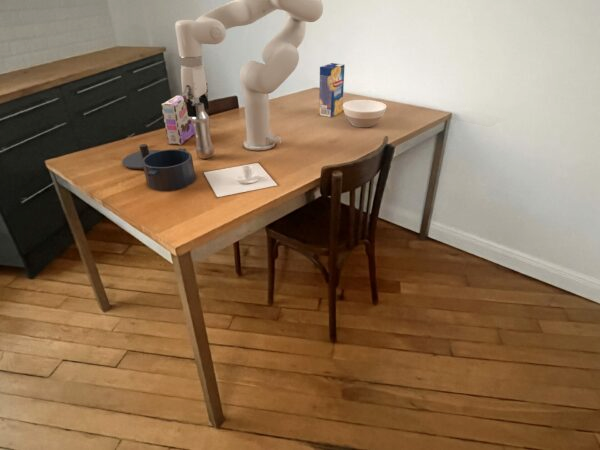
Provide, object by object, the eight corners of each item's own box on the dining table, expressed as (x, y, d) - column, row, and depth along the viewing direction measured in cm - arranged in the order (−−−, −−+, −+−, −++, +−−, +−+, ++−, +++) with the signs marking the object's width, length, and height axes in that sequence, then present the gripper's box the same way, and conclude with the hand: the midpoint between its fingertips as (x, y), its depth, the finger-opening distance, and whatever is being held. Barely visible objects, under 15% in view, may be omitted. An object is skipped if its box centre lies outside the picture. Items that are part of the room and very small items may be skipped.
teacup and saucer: (237, 186, 132) (236, 175, 130) (231, 177, 138) (229, 166, 136) (263, 181, 135) (262, 170, 132) (255, 172, 141) (254, 161, 139)
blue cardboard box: (342, 111, 200) (344, 64, 189) (331, 117, 193) (332, 68, 181) (330, 109, 204) (331, 63, 192) (319, 114, 196) (319, 67, 184)
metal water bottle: (217, 154, 155) (211, 102, 144) (208, 161, 149) (201, 107, 139) (203, 152, 157) (195, 100, 146) (193, 159, 151) (185, 105, 141)
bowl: (365, 134, 173) (366, 114, 168) (332, 123, 185) (333, 105, 181) (393, 124, 183) (395, 105, 179) (361, 114, 196) (362, 97, 191)
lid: (177, 154, 156) (175, 139, 152) (155, 172, 142) (151, 155, 139) (139, 151, 159) (135, 136, 156) (113, 168, 145) (109, 152, 142)
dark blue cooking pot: (206, 169, 143) (202, 148, 139) (177, 197, 126) (173, 173, 122) (166, 165, 147) (161, 144, 142) (133, 192, 129) (127, 169, 125)
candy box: (181, 145, 164) (174, 104, 155) (168, 144, 165) (160, 103, 156) (195, 133, 175) (189, 95, 166) (182, 133, 176) (176, 94, 167)
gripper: (193, 56, 143) (199, 105, 152) (168, 65, 128) (177, 119, 137) (213, 57, 141) (218, 106, 150) (190, 67, 127) (197, 120, 136)
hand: (198, 112), depth 144 cm, fingers open, 9 cm apart
